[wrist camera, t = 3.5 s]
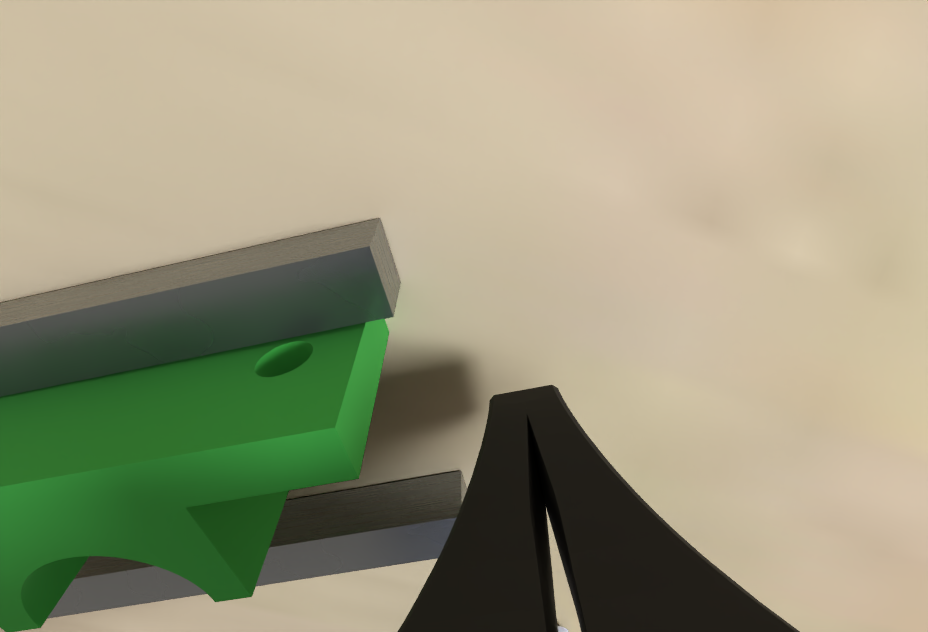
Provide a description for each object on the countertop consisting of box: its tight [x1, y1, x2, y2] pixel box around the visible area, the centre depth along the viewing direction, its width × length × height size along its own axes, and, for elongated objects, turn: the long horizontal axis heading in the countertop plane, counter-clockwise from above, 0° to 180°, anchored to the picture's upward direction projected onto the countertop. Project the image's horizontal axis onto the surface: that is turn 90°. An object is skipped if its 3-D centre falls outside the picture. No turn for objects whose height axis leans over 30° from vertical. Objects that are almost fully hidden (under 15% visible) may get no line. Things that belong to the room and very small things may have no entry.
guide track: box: [0, 218, 467, 618], centre depth 13 cm, size 9×22×2 cm, turn 102°
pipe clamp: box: [0, 319, 389, 632], centre depth 11 cm, size 11×4×5 cm, turn 102°
